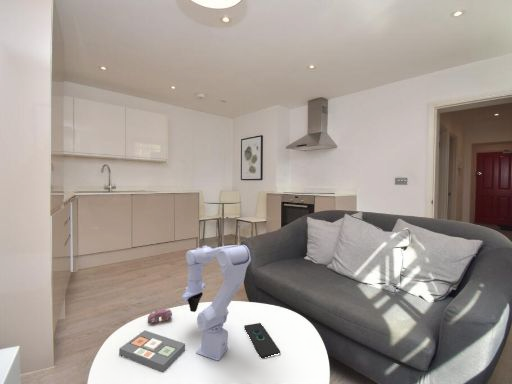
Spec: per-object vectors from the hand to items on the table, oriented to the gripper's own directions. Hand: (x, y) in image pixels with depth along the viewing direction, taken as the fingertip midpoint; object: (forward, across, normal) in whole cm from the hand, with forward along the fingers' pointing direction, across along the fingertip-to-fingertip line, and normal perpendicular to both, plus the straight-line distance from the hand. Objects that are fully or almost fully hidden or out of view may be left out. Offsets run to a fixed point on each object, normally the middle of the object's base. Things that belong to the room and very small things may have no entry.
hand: (193, 310), depth 107 cm
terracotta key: (+8, +16, -12) cm, 22 cm away
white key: (+7, +16, -6) cm, 19 cm away
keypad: (+9, +16, -6) cm, 20 cm away
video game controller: (+10, -1, -17) cm, 20 cm away
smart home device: (+10, -7, +28) cm, 30 cm away
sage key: (+8, +16, 0) cm, 18 cm away
